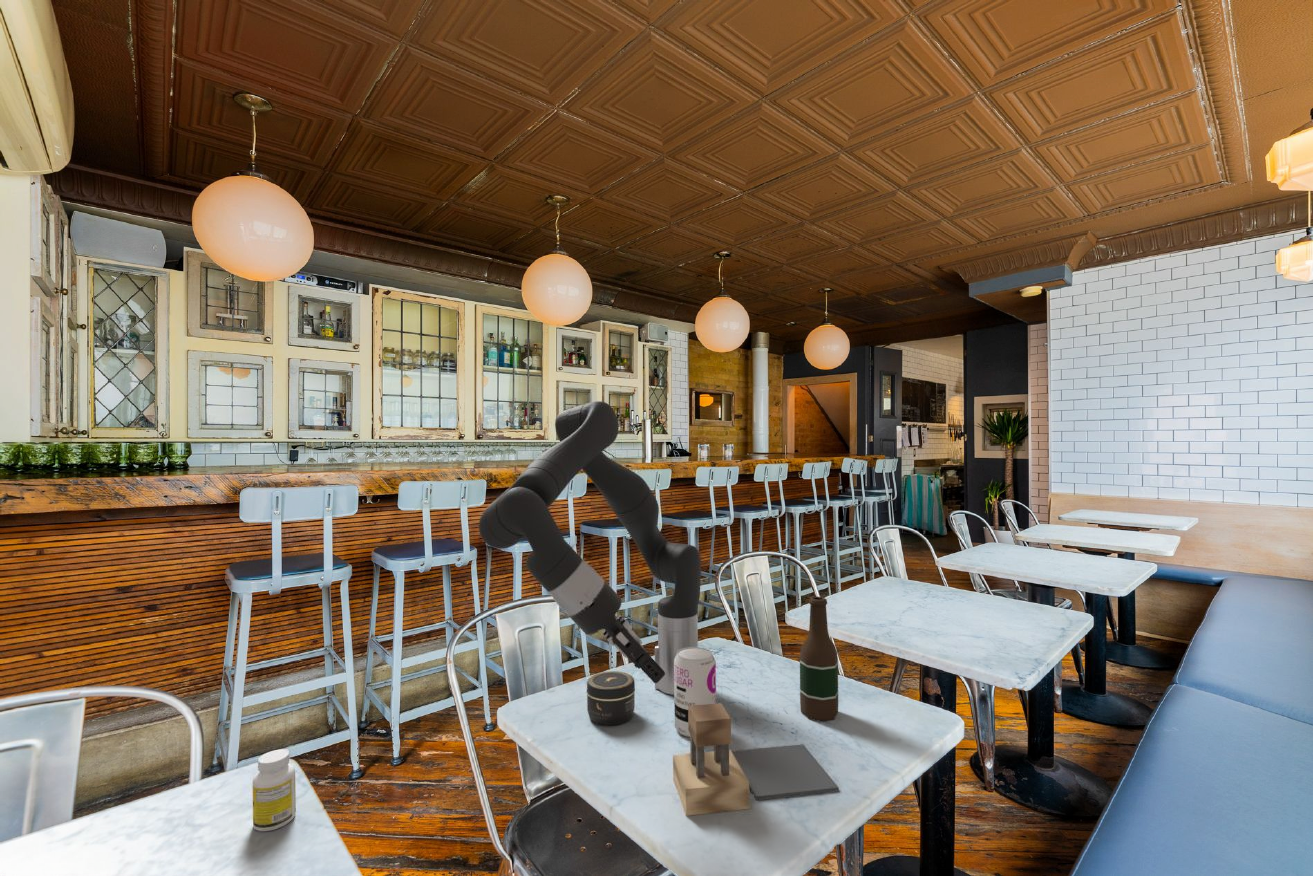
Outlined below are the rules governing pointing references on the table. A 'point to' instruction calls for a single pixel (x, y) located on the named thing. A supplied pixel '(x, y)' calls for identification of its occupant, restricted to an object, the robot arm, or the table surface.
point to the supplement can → (692, 683)
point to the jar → (610, 698)
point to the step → (710, 785)
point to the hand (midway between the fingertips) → (653, 668)
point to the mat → (783, 772)
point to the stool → (709, 735)
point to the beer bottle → (818, 667)
